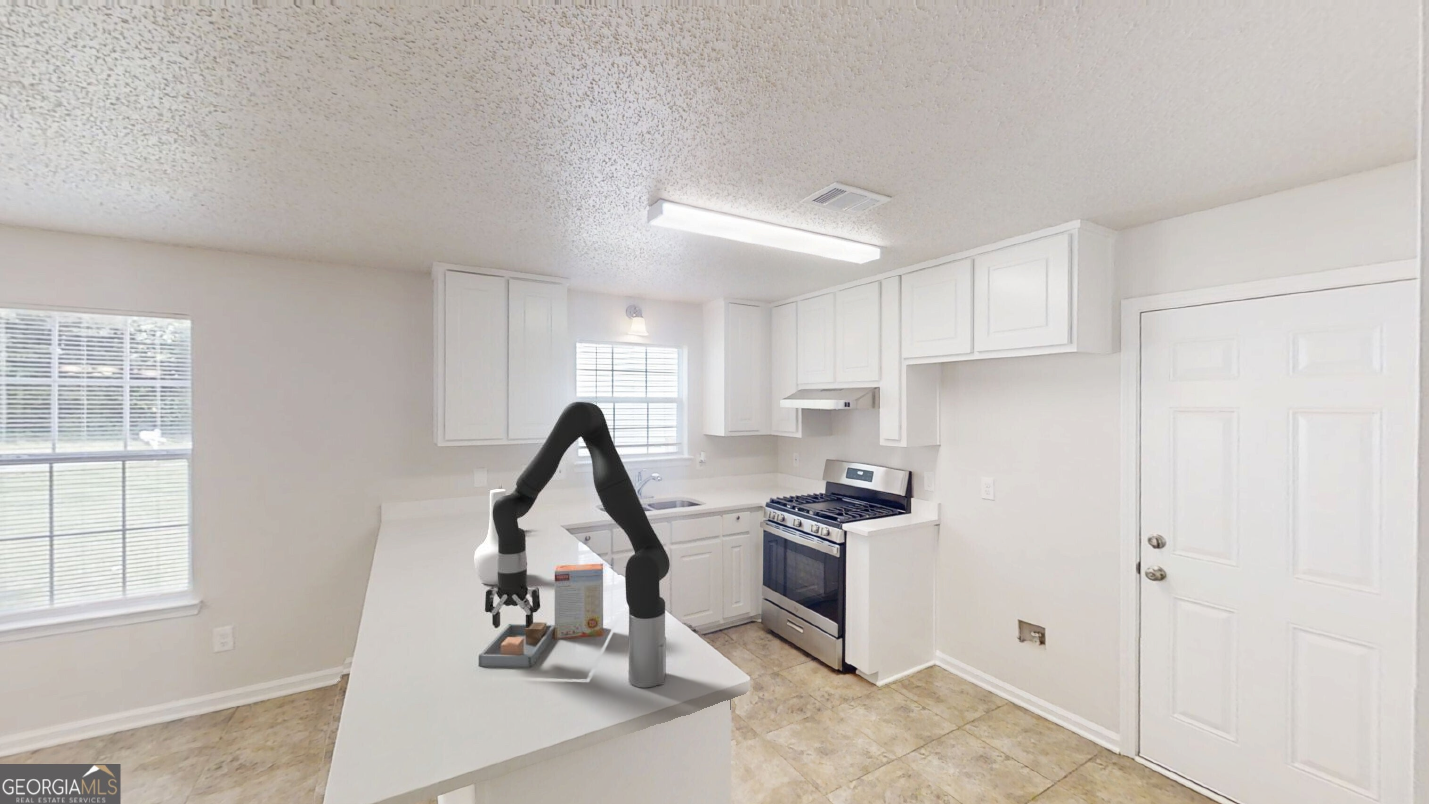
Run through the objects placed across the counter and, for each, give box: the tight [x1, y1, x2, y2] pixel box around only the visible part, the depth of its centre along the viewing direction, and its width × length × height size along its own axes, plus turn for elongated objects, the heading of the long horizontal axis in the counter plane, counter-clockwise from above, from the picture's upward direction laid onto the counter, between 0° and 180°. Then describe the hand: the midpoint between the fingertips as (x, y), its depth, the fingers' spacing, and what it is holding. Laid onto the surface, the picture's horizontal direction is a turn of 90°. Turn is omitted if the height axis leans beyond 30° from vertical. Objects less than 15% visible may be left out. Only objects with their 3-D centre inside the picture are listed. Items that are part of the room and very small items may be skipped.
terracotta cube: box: [501, 637, 524, 655], centre depth 149 cm, size 4×4×4 cm
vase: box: [473, 488, 507, 586], centre depth 212 cm, size 17×17×35 cm
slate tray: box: [478, 623, 555, 668], centre depth 154 cm, size 14×20×4 cm
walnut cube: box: [526, 621, 547, 645], centre depth 158 cm, size 4×4×4 cm
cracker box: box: [554, 563, 604, 639], centre depth 164 cm, size 14×6×21 cm, turn 99°
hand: (513, 626), depth 148 cm, fingers open, 8 cm apart
